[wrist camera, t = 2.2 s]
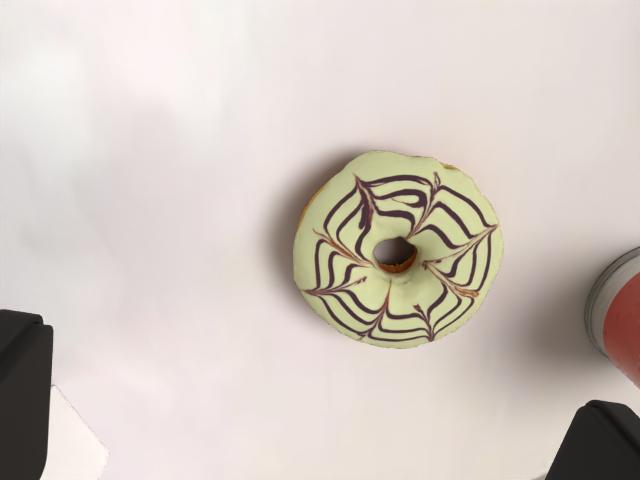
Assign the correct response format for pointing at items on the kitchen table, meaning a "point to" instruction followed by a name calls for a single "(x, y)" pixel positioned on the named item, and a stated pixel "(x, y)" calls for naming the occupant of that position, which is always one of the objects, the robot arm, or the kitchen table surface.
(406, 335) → the decorated donut
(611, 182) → the kitchen table surface
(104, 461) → the milk
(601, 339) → the tin can
